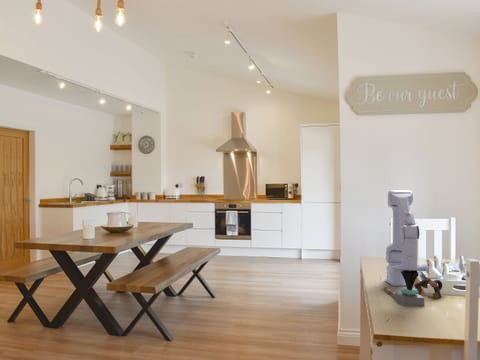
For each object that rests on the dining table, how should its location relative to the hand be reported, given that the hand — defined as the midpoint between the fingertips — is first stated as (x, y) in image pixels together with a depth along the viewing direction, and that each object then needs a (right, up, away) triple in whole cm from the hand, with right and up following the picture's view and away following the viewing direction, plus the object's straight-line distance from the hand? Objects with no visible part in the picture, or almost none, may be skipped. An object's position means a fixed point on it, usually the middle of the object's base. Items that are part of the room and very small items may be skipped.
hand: (409, 289), depth 161 cm
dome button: (0, -4, 0) cm, 4 cm away
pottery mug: (+13, -5, +9) cm, 17 cm away
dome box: (0, -5, 0) cm, 5 cm away
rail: (-3, -5, +10) cm, 12 cm away
